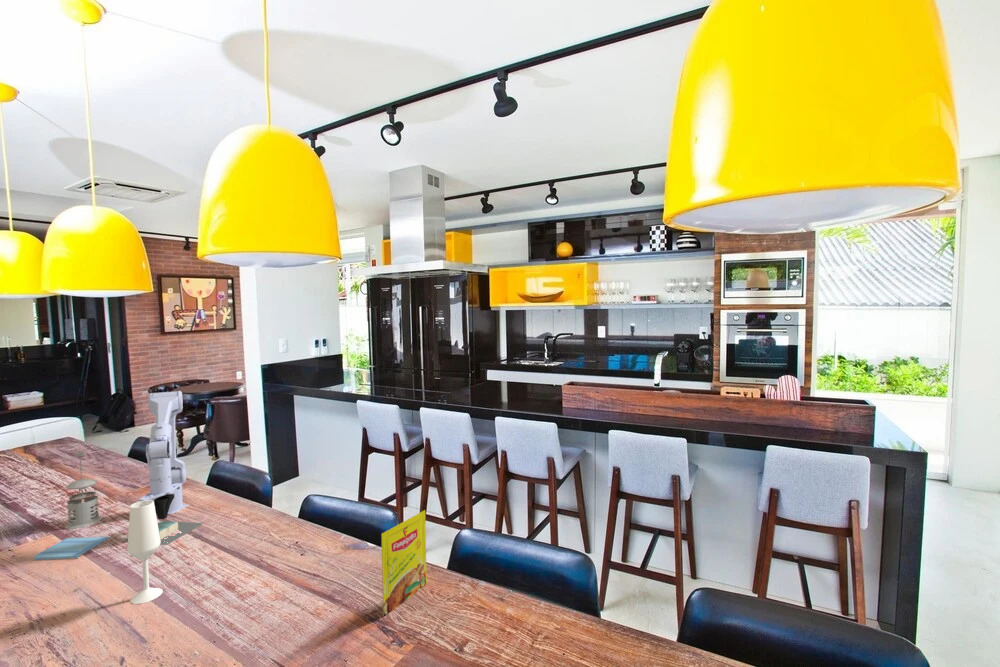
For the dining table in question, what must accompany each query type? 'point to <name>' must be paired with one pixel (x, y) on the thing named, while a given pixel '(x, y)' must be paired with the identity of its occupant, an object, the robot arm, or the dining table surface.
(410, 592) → the food package
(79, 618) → the dining table surface
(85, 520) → the french press
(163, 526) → the beige and teal block
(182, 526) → the mat
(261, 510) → the dining table surface
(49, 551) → the folded blue cloth
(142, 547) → the champagne flute
